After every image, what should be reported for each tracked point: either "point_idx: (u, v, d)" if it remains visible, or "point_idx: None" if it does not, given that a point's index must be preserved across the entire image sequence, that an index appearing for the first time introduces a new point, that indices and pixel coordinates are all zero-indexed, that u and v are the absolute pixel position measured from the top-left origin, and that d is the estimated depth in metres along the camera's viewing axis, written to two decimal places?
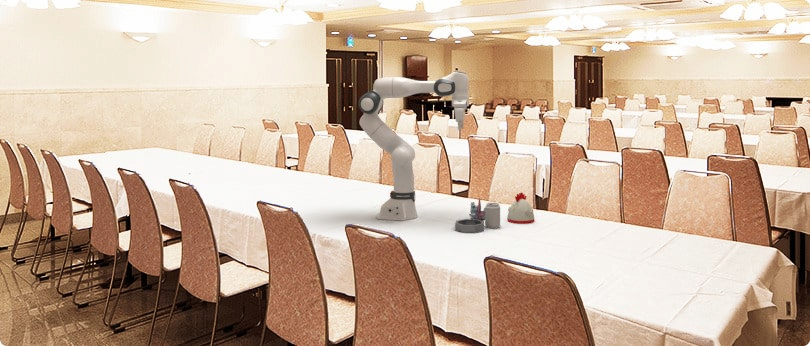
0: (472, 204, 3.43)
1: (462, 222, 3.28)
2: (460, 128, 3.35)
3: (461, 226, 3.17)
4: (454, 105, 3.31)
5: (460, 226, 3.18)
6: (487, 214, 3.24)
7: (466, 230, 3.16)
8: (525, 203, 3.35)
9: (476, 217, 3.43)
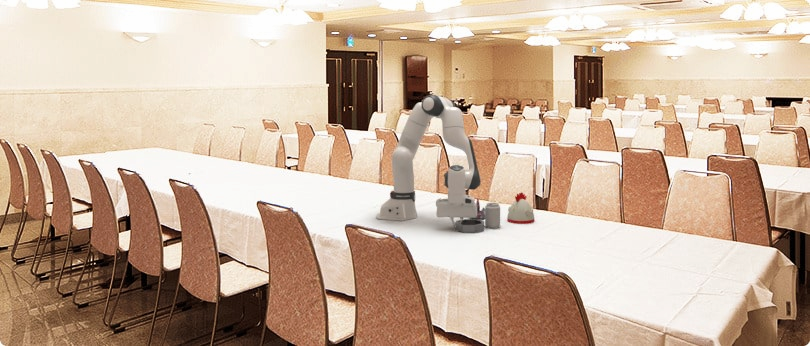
0: None
1: (462, 222, 3.28)
2: None
3: (461, 226, 3.17)
4: (473, 201, 3.18)
5: (460, 226, 3.18)
6: (487, 214, 3.24)
7: (466, 230, 3.16)
8: (525, 203, 3.35)
9: None
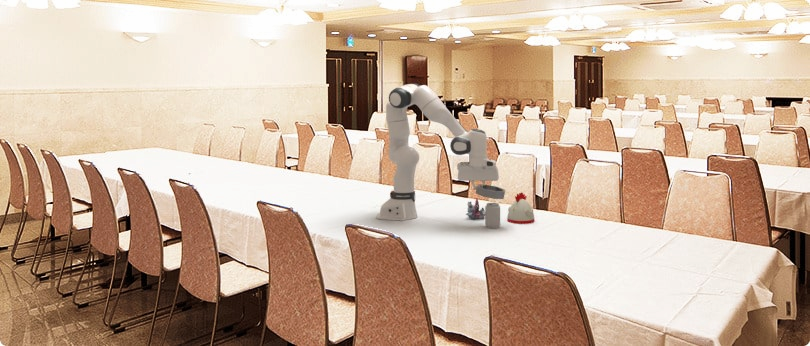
0: (469, 204, 3.45)
1: (483, 187, 3.30)
2: (482, 187, 3.26)
3: (483, 190, 3.19)
4: (495, 164, 3.20)
5: (482, 190, 3.20)
6: (487, 214, 3.24)
7: (486, 195, 3.19)
8: (525, 203, 3.35)
9: (473, 217, 3.44)
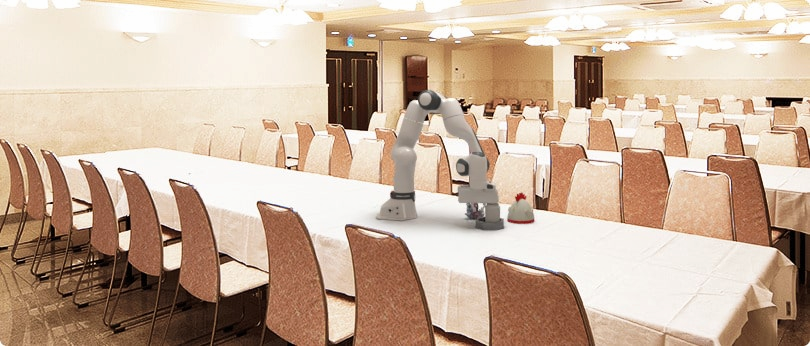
0: (468, 203, 3.45)
1: (482, 219, 3.32)
2: (483, 209, 3.27)
3: (482, 223, 3.22)
4: (495, 187, 3.22)
5: (480, 223, 3.23)
6: (487, 214, 3.24)
7: (486, 227, 3.21)
8: (525, 203, 3.35)
9: (471, 216, 3.44)
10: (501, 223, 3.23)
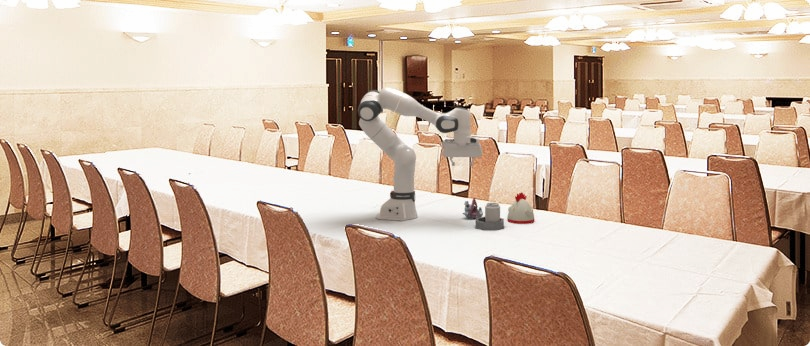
0: (466, 203, 3.46)
1: (482, 219, 3.32)
2: None
3: (482, 223, 3.22)
4: (478, 141, 3.32)
5: (480, 223, 3.23)
6: (487, 214, 3.24)
7: (486, 227, 3.21)
8: (525, 203, 3.35)
9: (469, 216, 3.45)
10: (501, 223, 3.23)
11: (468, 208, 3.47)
